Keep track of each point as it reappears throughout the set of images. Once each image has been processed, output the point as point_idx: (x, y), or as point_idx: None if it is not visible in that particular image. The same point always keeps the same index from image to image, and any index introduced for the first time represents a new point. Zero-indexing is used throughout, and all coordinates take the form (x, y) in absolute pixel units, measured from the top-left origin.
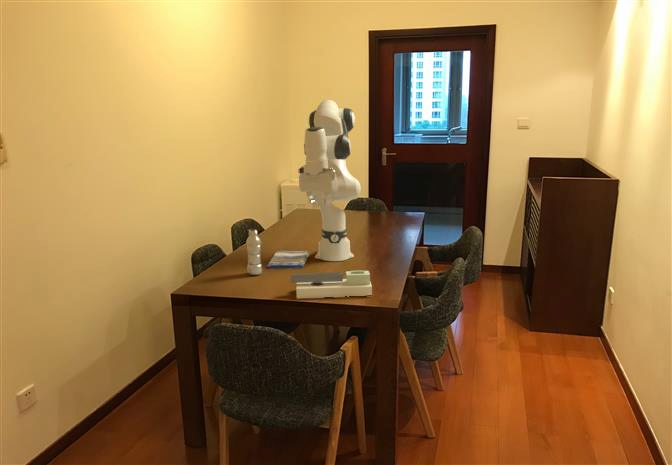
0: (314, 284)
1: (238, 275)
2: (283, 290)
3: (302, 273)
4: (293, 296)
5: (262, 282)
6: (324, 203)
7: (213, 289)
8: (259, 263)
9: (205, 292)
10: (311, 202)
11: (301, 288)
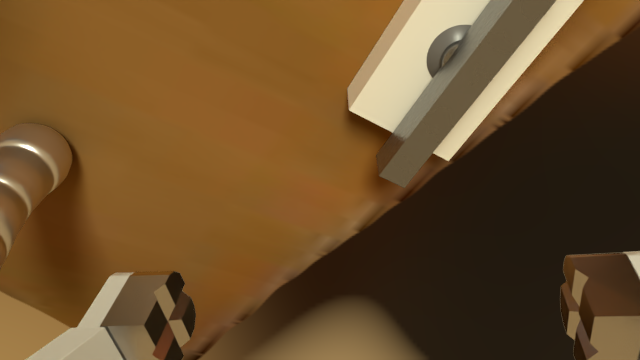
0: None
1: None
2: (318, 136)
3: (413, 135)
4: None
5: (174, 161)
6: (561, 303)
7: None
8: (42, 166)
9: None
10: (193, 322)
11: (461, 143)
